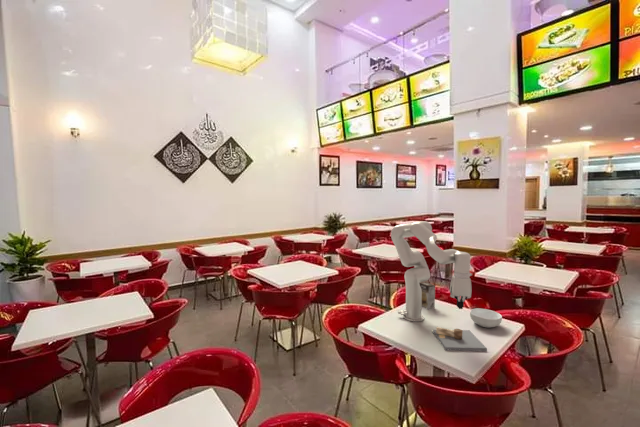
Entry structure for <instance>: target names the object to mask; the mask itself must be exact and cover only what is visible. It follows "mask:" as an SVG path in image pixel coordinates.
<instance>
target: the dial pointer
mask: <svg viewBox="0 0 640 427" xmlns="http://www.w3.org/2000/svg"><path fill="white" fill-rule="evenodd" d="M435 328H436V329H435V330H436V333H437V334H441V335H446V336H450V337H454V338H455V339H459V340H460V339H462V330H463V329H460V328H454V329H448V328H444V327H439V326H437V327H435Z"/></svg>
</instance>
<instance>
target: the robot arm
mask: <svg viewBox="0 0 640 427" xmlns="http://www.w3.org/2000/svg"><path fill="white" fill-rule="evenodd" d="M390 237H391V241H392V243H393V245H394V246H395V247H394V248H395V249H396V252H397V254H398V255H397V256H398V257H399V260H400V262H401V265H402V266H404V267H406V268H410V267H413V268H410V269H406V271H405V272H404V281H405V308H404V310H398V311H397V313H398V315H401V316H402V317H403V319H405V320H406V321H410V322H423V321H424V320H425V316H424V315H423V314H422V309H423V307H422V290H421V287H420V284H419V283H421V282H428V280H430V277H431V273H430V272H431V271H430V269H429V266H428V264H427V261H426V259H425V256H424V255H423V253H422V252H420V251H418V250H412V249H411V247H410V245H409V243H408V241H407V240H406V239H405V238H411V237H412V238H413V237H416V238H417V239H418V240H419V242H421V243H422V244H423V245H424V246H425V248H426V252H427V253H428V255H429V256H430V257H431V258H432V259H433V260H434V261H436V262H437V263H438V264H441V265H449V264H454V268H453V275H452V276H451V280H450V284H449V285H450V286H449V293H450V295H449V297H450V298H453V299H455V300H456V307H457V308H458V310H463V309H464V305H465V304H464V303H465V301H466V300H468V299H471V298H472V280H471V278H470V277H471V276H473V273H471V272H470V271H471V269H470V268H471V254H470V253H468V252H466V251H459V250H457V249H454V248H449V249H444V250H443V249H442V248H440V247H439V246H438V245H437V244H436V241H437V239H438V236H437V235H436V234H435V233H434V232H433V227H432V225H431V223H430V222H428V221H425V220H424V221H423V220H421V221H415V222H413V223H406V224H405V223H404V224H402V223H401V224H397V225H395V226H393V227H392V229H391V231H390Z"/></svg>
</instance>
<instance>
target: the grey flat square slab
mask: <svg viewBox="0 0 640 427" xmlns="http://www.w3.org/2000/svg"><path fill="white" fill-rule="evenodd" d="M461 330H462V339H460V340H459V339H455V338H454V337H450V336H446V335H441V334H437V333H436V329H432V332H433V334H434V336H435V337H436V340H438V341H439V343H440V344H441V346H442V348H443V349H444V350H445V351H463V352H464V351H465V352H467V351H469V352H487V351H488V350H487V349H488V348H487V347H486V345H484V344H483V343H482V342H481V341H480V339H478V337H477V336H475V335H474V333H473V332H471V330H470V329H461Z"/></svg>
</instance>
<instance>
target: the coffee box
mask: <svg viewBox="0 0 640 427" xmlns="http://www.w3.org/2000/svg"><path fill="white" fill-rule="evenodd" d="M419 284H420V287H421V290H422V306H423V307H422V308H424V307H425V309H426V308H427V309H426V310H431V309H430V308H432V309H435V307H436V306H435V305H436V304H435V302H436V301H435V300H436V285H435V284H432V283H429V282H428V281H424V282H420V283H419Z"/></svg>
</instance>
